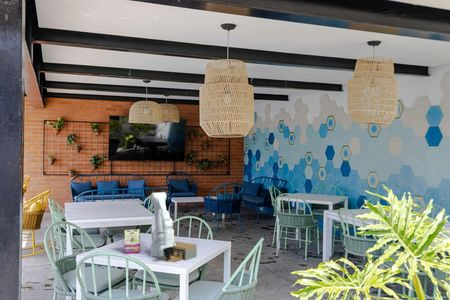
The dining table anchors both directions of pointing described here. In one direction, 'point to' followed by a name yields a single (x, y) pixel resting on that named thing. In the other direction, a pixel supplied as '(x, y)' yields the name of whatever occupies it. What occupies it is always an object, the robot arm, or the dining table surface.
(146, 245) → the dining table surface
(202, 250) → the dining table surface
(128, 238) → the candy bar box
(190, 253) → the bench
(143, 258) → the dining table surface
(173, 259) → the tray
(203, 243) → the dining table surface
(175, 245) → the robot arm
